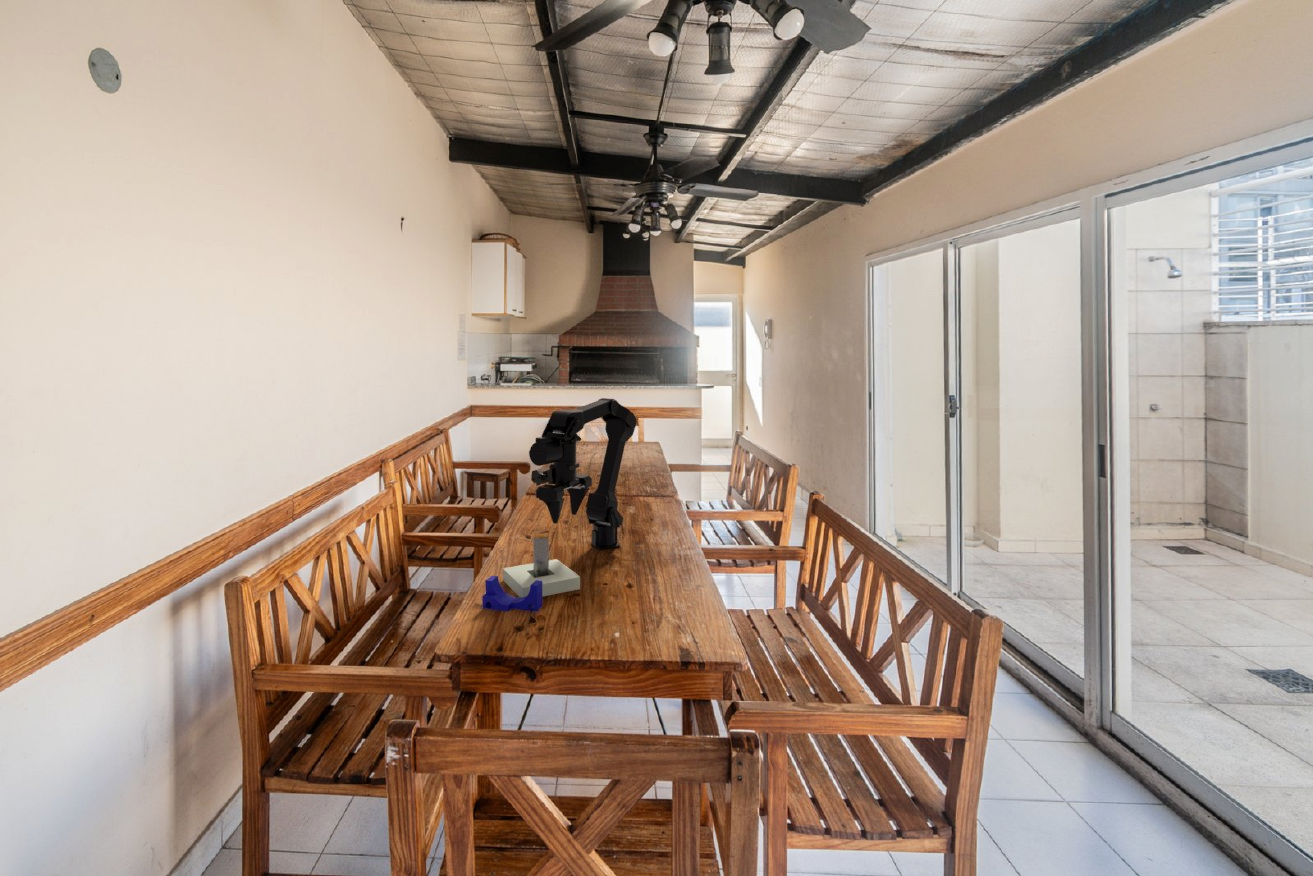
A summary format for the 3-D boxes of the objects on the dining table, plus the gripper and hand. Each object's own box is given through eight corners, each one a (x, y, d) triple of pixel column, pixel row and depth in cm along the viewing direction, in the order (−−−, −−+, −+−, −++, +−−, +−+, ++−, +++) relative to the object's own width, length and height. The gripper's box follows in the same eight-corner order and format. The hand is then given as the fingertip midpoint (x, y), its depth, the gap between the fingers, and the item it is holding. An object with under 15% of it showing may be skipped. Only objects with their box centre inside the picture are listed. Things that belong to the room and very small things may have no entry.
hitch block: (556, 570, 162) (556, 559, 161) (580, 589, 150) (580, 576, 150) (503, 580, 154) (502, 568, 154) (523, 600, 143) (522, 587, 142)
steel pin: (548, 581, 154) (548, 529, 152) (548, 587, 151) (548, 534, 149) (533, 582, 154) (533, 530, 152) (533, 587, 150) (533, 534, 148)
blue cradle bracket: (482, 609, 138) (482, 582, 137) (492, 601, 143) (491, 575, 142) (534, 615, 136) (534, 588, 135) (542, 607, 140) (542, 581, 139)
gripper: (557, 451, 175) (557, 506, 177) (517, 462, 158) (517, 523, 160) (593, 455, 170) (592, 511, 173) (555, 467, 153) (555, 529, 156)
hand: (564, 518), depth 165 cm, fingers open, 9 cm apart
